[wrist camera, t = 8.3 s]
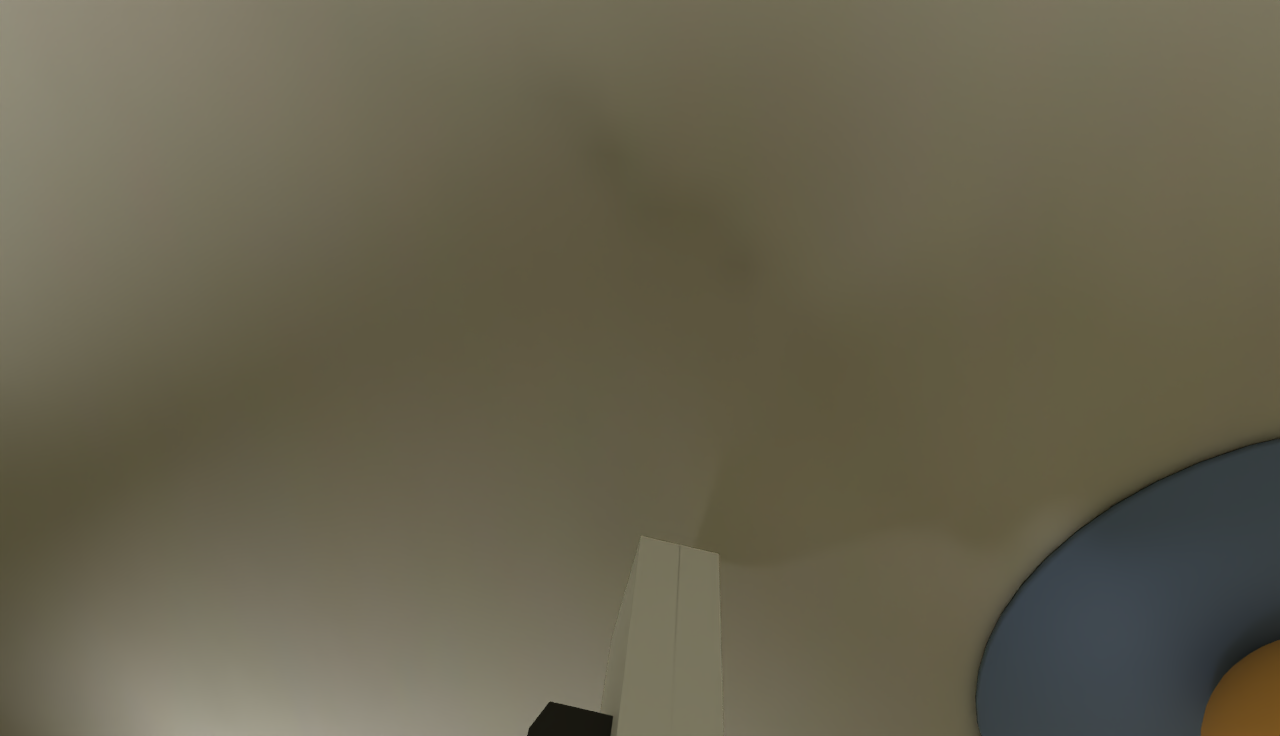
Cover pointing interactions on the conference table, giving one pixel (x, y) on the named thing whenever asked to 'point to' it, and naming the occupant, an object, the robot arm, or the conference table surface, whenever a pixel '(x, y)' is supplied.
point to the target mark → (1142, 608)
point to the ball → (1247, 697)
